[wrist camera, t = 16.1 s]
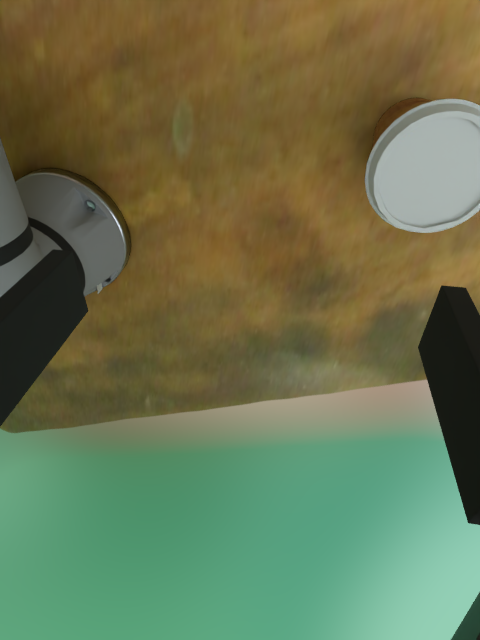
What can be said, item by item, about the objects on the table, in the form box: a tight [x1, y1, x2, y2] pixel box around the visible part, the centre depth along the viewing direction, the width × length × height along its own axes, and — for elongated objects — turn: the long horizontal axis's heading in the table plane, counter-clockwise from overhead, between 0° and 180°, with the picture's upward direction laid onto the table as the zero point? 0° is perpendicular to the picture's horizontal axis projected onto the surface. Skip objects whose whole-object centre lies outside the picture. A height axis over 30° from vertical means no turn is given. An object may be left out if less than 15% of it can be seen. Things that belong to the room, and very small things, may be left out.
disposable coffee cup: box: [365, 98, 480, 233], centre depth 34 cm, size 10×10×12 cm
